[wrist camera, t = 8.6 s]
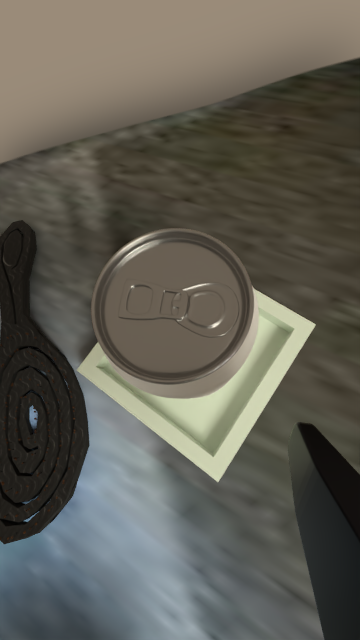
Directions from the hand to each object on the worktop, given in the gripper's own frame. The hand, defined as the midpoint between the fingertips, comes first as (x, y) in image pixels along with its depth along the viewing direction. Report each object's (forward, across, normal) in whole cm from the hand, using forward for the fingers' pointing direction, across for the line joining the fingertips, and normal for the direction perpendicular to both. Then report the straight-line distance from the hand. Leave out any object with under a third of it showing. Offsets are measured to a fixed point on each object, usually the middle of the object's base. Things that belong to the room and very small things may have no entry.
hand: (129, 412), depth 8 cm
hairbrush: (+13, +12, +8) cm, 19 cm away
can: (+12, -1, +6) cm, 14 cm away
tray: (+12, -1, +6) cm, 14 cm away
